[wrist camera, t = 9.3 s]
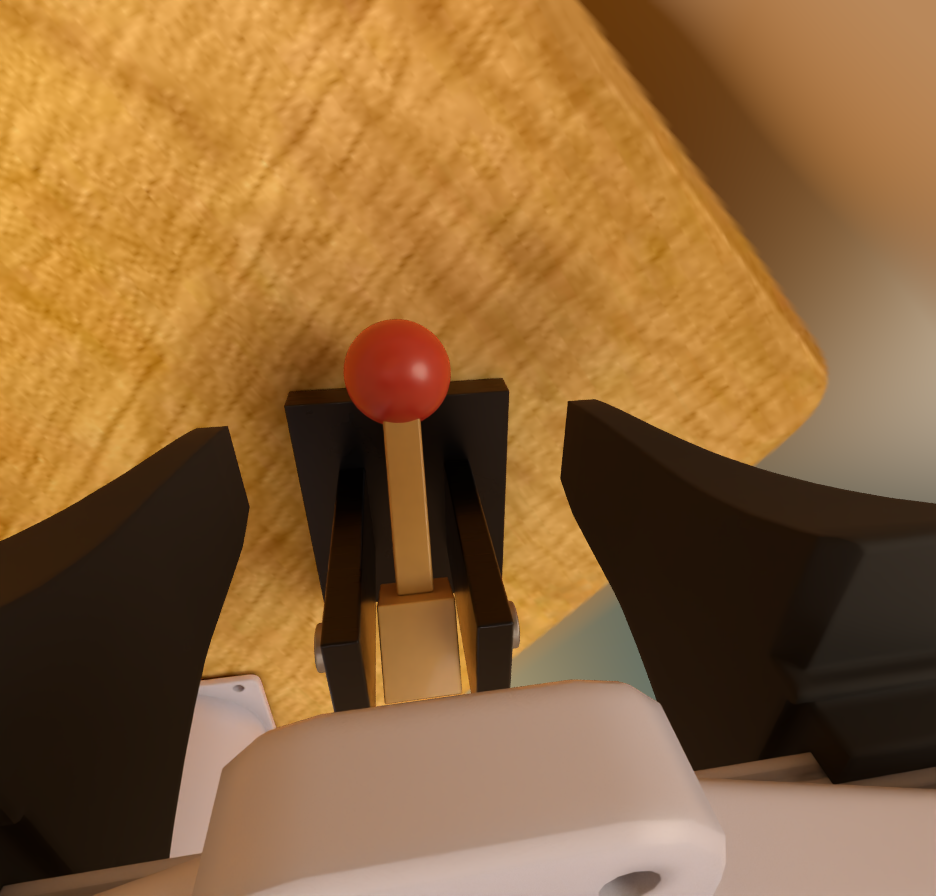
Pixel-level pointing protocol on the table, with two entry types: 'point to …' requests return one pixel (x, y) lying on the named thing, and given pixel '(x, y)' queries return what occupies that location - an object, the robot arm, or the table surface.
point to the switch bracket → (370, 536)
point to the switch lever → (408, 506)
